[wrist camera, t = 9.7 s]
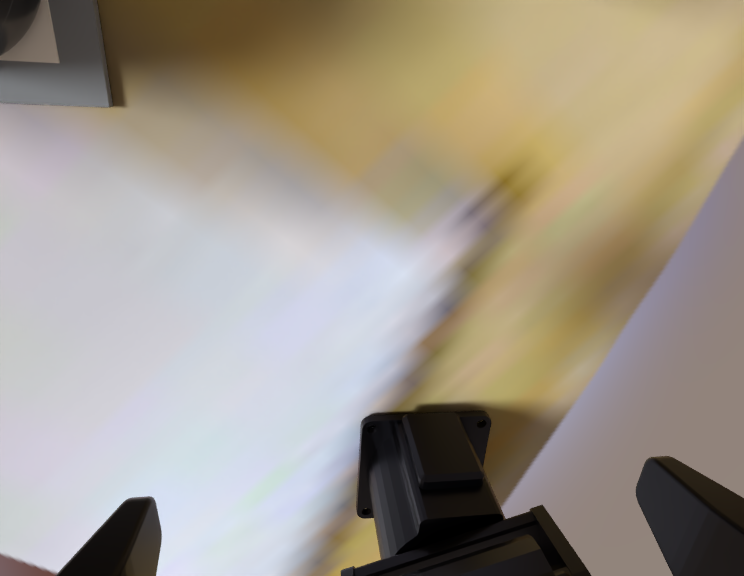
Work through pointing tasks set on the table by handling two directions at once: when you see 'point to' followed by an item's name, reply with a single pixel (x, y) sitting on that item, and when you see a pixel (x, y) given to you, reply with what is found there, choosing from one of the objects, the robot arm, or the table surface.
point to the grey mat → (58, 59)
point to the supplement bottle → (15, 21)
